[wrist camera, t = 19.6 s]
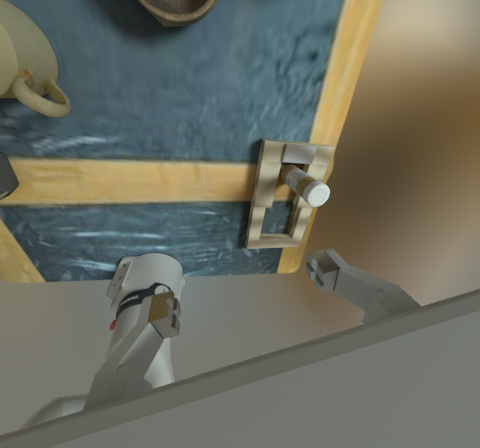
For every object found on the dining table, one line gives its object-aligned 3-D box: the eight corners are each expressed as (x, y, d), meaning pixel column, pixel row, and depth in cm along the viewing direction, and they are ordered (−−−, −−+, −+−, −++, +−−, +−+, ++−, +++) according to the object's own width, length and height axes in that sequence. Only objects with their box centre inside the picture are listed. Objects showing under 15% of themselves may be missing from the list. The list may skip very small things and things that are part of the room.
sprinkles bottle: (296, 181, 47) (327, 206, 36) (278, 183, 47) (305, 209, 36) (298, 162, 45) (333, 183, 34) (280, 164, 44) (309, 186, 33)
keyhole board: (295, 241, 59) (299, 247, 56) (244, 243, 55) (247, 250, 52) (327, 144, 44) (335, 147, 41) (261, 138, 40) (266, 141, 38)
